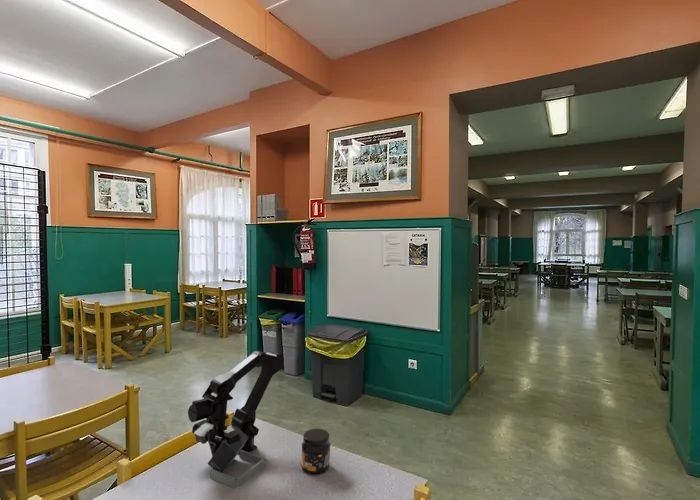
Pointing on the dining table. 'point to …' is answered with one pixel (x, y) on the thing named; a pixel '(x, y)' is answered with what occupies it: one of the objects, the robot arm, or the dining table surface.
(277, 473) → the dining table surface
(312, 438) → the supplement container
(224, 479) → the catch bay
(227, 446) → the small box
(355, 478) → the dining table surface
